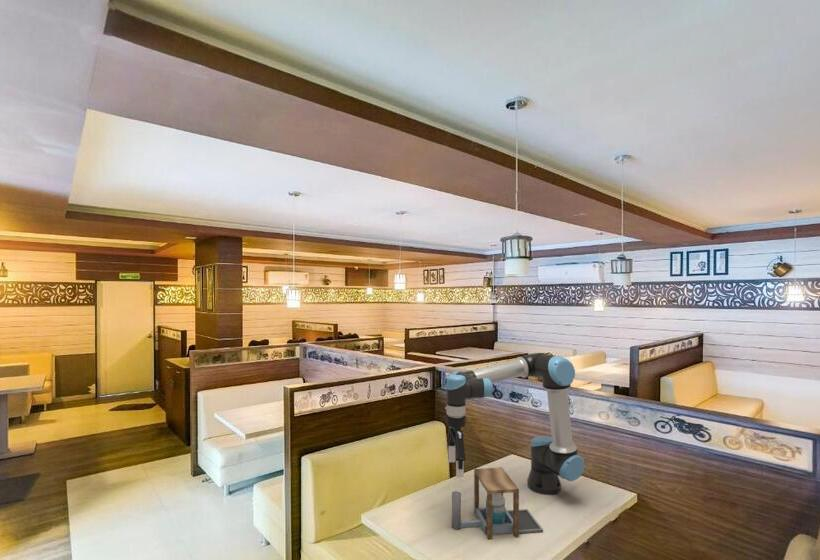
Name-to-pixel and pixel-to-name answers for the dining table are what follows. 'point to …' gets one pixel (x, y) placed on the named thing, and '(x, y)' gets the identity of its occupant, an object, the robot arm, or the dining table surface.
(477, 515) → the grey frame on stick
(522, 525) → the dark grey flat plate
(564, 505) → the dining table surface
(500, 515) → the pill bottle
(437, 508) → the dining table surface
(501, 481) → the tunnel
